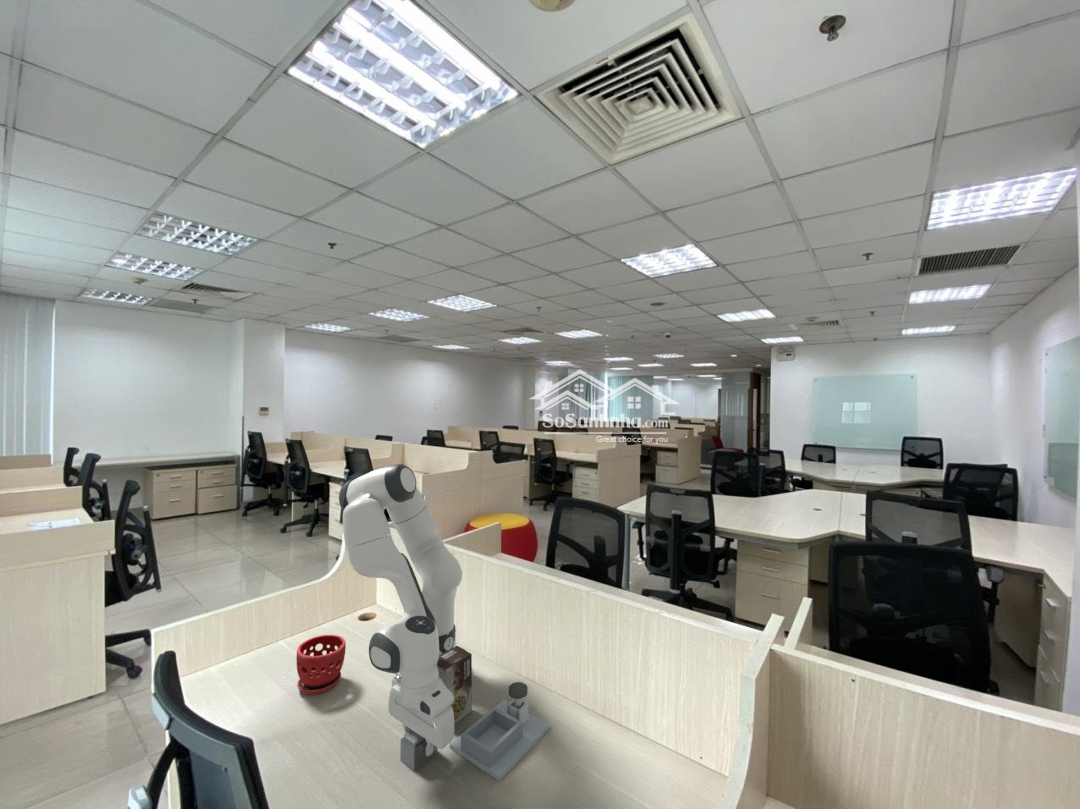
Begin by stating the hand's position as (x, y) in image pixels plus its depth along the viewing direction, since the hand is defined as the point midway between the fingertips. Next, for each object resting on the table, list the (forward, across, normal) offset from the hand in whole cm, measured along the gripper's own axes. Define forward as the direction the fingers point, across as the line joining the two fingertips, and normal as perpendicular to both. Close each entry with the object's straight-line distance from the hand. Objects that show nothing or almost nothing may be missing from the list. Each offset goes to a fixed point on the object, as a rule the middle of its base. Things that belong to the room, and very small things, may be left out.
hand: (419, 747), depth 105 cm
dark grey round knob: (-2, +12, +22) cm, 26 cm away
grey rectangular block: (+2, 0, 0) cm, 2 cm away
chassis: (+2, +12, +16) cm, 20 cm away
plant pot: (+2, -45, 0) cm, 45 cm away
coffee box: (+2, -4, +14) cm, 15 cm away
